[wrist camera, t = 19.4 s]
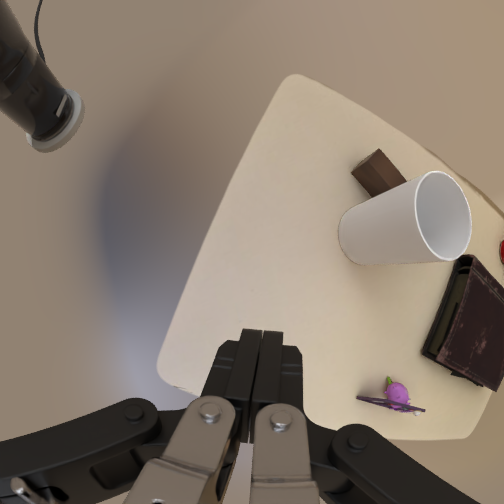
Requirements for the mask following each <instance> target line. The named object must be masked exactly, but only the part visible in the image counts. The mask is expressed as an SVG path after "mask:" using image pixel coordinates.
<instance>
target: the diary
mask: <svg viewBox="0 0 504 504" xmlns="http://www.w3.org/2000/svg"><path fill="white" fill-rule="evenodd" d="M422 355H424V356H425V357H427V358H429V359H431V360H432V361H434V362H436V363H438V364H440V365H442V366H444V367H445V368H447V369H449V370H451V371H452V373H451V374H450V375H453V376H458V377H462V378H466V379H468V380H470V381H472V382H473V383H474V384H476V385H477V386H478V385H479V386H481V387H483V385H484V386H486V387H487V388H489V389H491V390H493V391H495V392H497V390H498V388H499V386H500V383H501V381H502V379H503V377H504V288H503V287H502V286H501V285H500V284H499V282H498V281H497V280H496V279H495V278H494V277H493V276H492V275H491V274H490V273H489V272H488V271H487V269H486V268H485V267H484V266H483V265H482V263H481V262H480V261H479V260H478V259H477V258H476V257H475V256H474V255H470V254H467V255H461V256H460V257H459V258H457V259H456V263H455V266H454V269H453V272H452V275H451V278H450V281H449V284H448V287H447V290H446V293H445V296H444V298H443V301H442V304H441V306H440V309H439V311H438V314H437V316H436V319H435V321H434V324H433V326H432V329H431V331H430V334H429V336H428V339H427V341H426V344H425V346H424V348H423V353H422Z"/></svg>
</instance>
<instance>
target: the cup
mask: <svg viewBox="0 0 504 504" xmlns="http://www.w3.org/2000/svg"><path fill="white" fill-rule="evenodd" d="M471 230H472V219H471V212H470V208H469V204H468V201H467V199H466V196H465V194H464V192H463V190H462V189H461V187H460V186H459V184H458V183H457V182H456V181H455V180H454V179H453V178H452V177H451V176H449V175H448V174H446V173H444V172H441V171H431V172H428V173H425V174H423V175H421V176H419V177H416V178H414V179H412V180H410V181H408V182H406V183H403V184H401V185H399V186H397V187H395V188H393V189H391V190H388V191H386V192H384V193H382V194H380V195H378V196H376V197H373V198H371V199H369V200H367V201H365V202H363V203H360V204H358V205H356V206H354V207H352V208H350V209H349V210H348V211H346V213H345V214H344V215H343V217H342V218H341V221H340V224H339V228H338V237H339V242H340V246H341V248H342V250H343V252H344V253H345V255H346V256H347V257H348V258H349V259H350V260H351V261H353V262H355V263H357V264H359V265H387V264H408V263H427V262H444V261H452V260H455V259H457V258H459V257H460V256H461V255H462V254H463V253H464V252H465V250H466V248H467V246H468V244H469V241H470V237H471Z"/></svg>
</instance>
